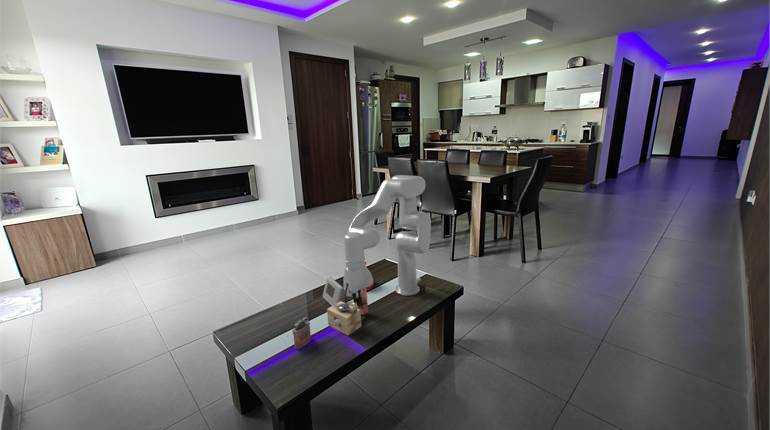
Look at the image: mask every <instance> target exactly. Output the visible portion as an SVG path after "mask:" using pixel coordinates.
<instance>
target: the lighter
mask: <svg viewBox="0 0 770 430" xmlns="http://www.w3.org/2000/svg"><path fill="white" fill-rule="evenodd" d="M292 335H293V342H294V343H293V344H294V349H295V350H300V349H301V348H303V347H304V346H306V345H307V344H309V343H310V342H311V341H312V338H313V337H312V335H311V321H309V320H308V317H307V316H304V317H303V318H302V319H299V320H297V321H296V323H295V324H294V328H293V329H292Z"/></svg>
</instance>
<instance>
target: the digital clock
mask: <svg viewBox="0 0 770 430" xmlns="http://www.w3.org/2000/svg"><path fill="white" fill-rule="evenodd" d="M344 292H345V291H344V286H342V285H341V284H340V283H339V282H338V281H336V280H335V279H334V278H333V277H331V276H328V277H327V278H326V281H325V285H324V289H323V292H322V298H323V299H324V300H325V301H326V302H327V303H328V304H329V305H330V307H331V306H333V305H335V304H337V303H339V302H340V301H341V302H344V303H346V296H345V294H344Z"/></svg>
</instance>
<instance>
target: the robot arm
mask: <svg viewBox="0 0 770 430" xmlns="http://www.w3.org/2000/svg"><path fill="white" fill-rule="evenodd" d="M425 189H426V181H425V178H423V177H422V176H419V175H406V174H404V175H403V174H402V175H401V174H396V175H394V176H392V177H391V178H387V179H384V180H383V181H382V182H381V184H380V186H379V188H378V190H377V192H376V194H375V195H374V198H373V200H372V202H371V204H370V205H368V206H367V207H366V208H364V209H363V210H361V211H360V212H359V213H358V214H357V215H356V216H355V217H354V218H353V220H352V222H351V224H350V225H349V227H348V230H347V233H346V234H345V236H344V237H343V242H344V243H343V244H344V257H345V258H344V259H345V268H344V271H343V288H344V292H346V296H347V297H349V298H350V297H352V300H353V302H357V306H360V305H362V298H361V296H362V294H363V290H364V289H365V288H366V287H367V284H368V276H367V270H366V267H367V265H365V262H366V261H365V260H366V258H365V250H368V249H373V248H375V247H376V246H378V244H379V243H380V241H381V235H380V232H379V231H377V230H375V229H372V228H367V227H365V226H366V225H367V224H369V223H370V222H372V221H374V220H377V219H379V218H380V219H381V218H384V217H386V216H388V215H389V213H390V211H391V209H392V207H393V206H394V203H395V200H396V199H399V201H398V202H399V214H398V215H399V216H398V224H399V227H400V228H401V229H403V231H400V232H398V233H397V234H396V235H395V238H394V244H395V249H396V255H397V285H396V286H395V292H396V293H397V295H398V294H399V295H401V296H405V297H407V296H409V297H410V296H414V295H417V294H418V293H420V286H419V285H418V283H419V282H421V281H422V279H421V278H420V277H417V256H416V254H421V255H423V254H426V253H428V251H429V249H430V243H431V229H432V228H431V226H432V219H431V216H430V215H429V213H427V212H425V211H418V208H417V207H418V200H417V196H420V195H421V194H423V193H424V191H425ZM404 230H406V231H404ZM407 230H409V231H407ZM413 231H415V232H413ZM416 232H417V233H416Z"/></svg>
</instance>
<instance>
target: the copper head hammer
mask: <svg viewBox="0 0 770 430" xmlns="http://www.w3.org/2000/svg"><path fill="white" fill-rule="evenodd" d="M367 291H368V290H367V289H366V288H365V289H364V290H363V294H362V296H361V298H362V305H360V306H357V308H358V309H360V311H361V315H363V316H365V315H367V314H368V313H369V303H368V292H367ZM339 324H340V319H338V318H337V319H336V320H334V325H335V326H337V325H339Z"/></svg>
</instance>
